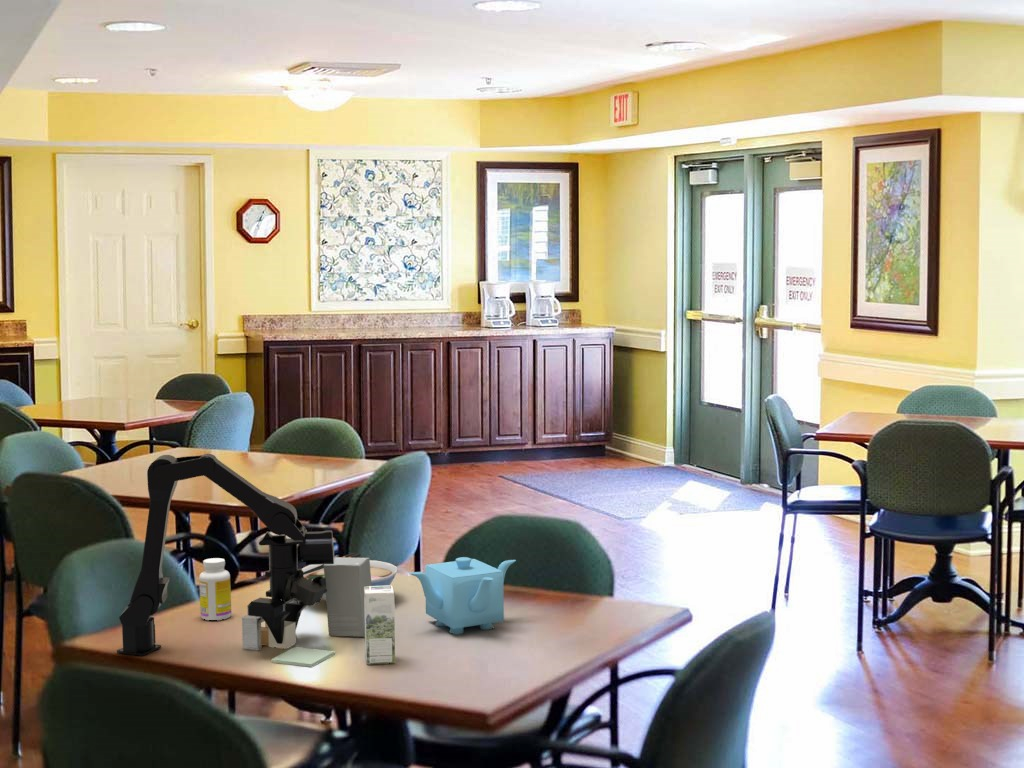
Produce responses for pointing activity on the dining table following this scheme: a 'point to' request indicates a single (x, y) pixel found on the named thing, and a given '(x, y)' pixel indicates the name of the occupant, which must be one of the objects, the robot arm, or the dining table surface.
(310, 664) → the pad
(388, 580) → the ramen bowl
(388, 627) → the syrup box
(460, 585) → the teakettle
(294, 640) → the plug
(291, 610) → the robot arm
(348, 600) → the skincare box
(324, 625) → the dining table surface
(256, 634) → the grey bridge block
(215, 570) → the supplement bottle
